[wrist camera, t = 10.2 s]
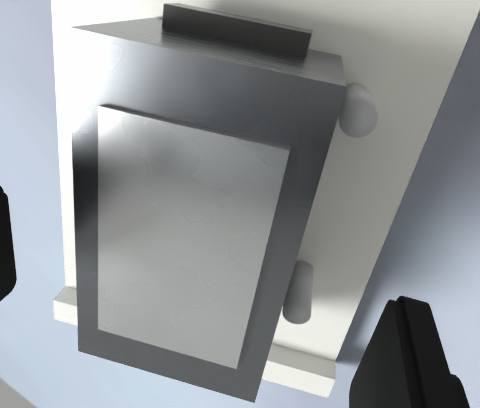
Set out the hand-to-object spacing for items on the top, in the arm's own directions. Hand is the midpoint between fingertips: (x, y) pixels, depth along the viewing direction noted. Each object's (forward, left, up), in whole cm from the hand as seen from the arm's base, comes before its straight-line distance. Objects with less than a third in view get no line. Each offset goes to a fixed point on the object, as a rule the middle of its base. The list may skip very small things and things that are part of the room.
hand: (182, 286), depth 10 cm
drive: (0, 0, -6) cm, 6 cm away
